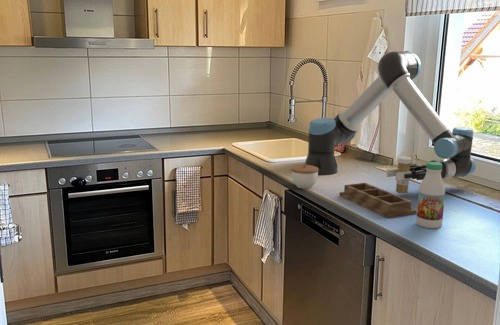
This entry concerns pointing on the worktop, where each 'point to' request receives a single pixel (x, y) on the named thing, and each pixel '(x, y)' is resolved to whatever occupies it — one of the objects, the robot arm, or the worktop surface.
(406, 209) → the wooden compartment tray
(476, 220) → the worktop surface
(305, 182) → the lidded jar
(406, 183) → the spice bottle
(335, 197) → the worktop surface
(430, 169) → the milk bottle
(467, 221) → the worktop surface
